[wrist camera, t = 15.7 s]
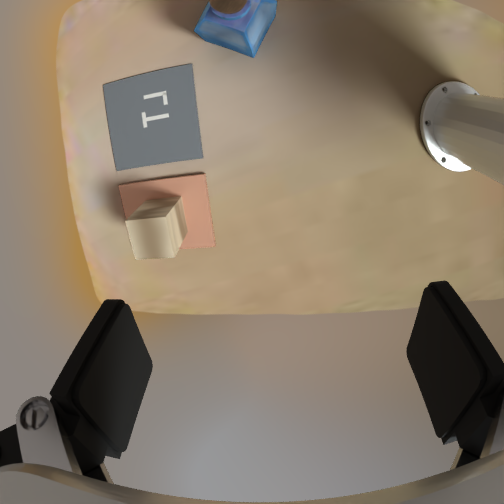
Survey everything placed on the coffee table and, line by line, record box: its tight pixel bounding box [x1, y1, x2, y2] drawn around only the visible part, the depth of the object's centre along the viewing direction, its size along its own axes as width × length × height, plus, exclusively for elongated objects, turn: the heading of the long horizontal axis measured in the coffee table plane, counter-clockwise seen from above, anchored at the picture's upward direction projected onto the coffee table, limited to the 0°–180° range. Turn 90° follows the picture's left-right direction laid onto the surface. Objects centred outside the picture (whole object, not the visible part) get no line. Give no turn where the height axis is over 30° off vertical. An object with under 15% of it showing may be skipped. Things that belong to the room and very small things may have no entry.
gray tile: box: [103, 64, 203, 171], centre depth 34 cm, size 12×12×1 cm
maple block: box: [125, 196, 188, 260], centre depth 37 cm, size 5×5×7 cm
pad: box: [119, 173, 216, 249], centre depth 40 cm, size 12×10×1 cm
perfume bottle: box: [194, 0, 277, 58], centre depth 23 cm, size 6×6×12 cm
